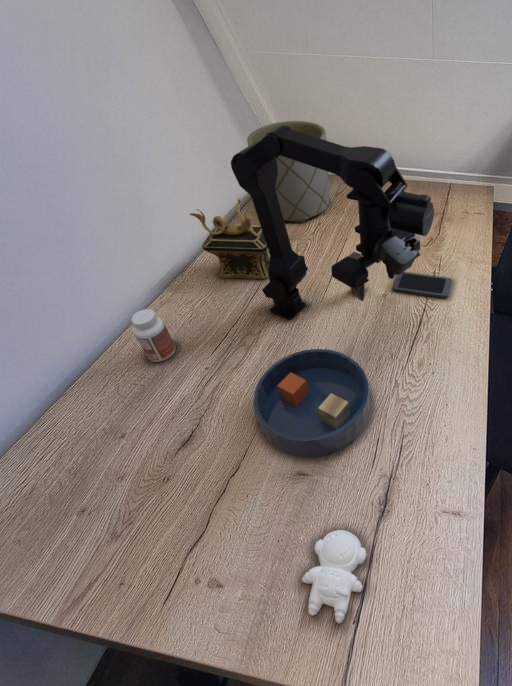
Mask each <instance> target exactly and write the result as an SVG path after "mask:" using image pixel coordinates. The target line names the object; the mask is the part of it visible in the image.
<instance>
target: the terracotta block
mask: <svg viewBox="0 0 512 686" xmlns="http://www.w3.org/2000/svg"><path fill="white" fill-rule="evenodd" d="M278 390H279V393H280V397H281V399H283V400H285V401H287V402H288V403H290V404H292V405H294V406H297V405H298V404H299V403H300V402H301V401H302V400H303V399H304V398H305V397H306V396H307V394H308V393H309V391H308V387H307V382H306V380H305V379H303V378H301V377H299V376H297V375H295V374H293V373H291V372H290V373H289V374H288V375H287V376H286V377H285V378H284V379H283V380H282V381H281V382H280V383H279V384H278Z"/></svg>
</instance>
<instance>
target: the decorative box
mask: <svg viewBox="0 0 512 686" xmlns="http://www.w3.org/2000/svg"><path fill="white" fill-rule="evenodd" d="M242 202H243V200H242V198H241V197H238V198H237V206H236V213H237V215H238V218H240V220H241V224H239V223H232V224H227V222H226V220H225V219H224V218H223V217H222V216H221V215H216V216H214V217H213V219H212V224H213V226H214V227H215V228H213V229H212V230H211V229H210V228H209V227H208V226H207V224H206V215H205V214H204V212H203V211H201V210H200V209H197V208H196V211H197V212H199V213H195V212H190V213H188V215H189V216H193V217H195V218H197V219H198V220H199V222H200V223H201V225H202V227H203V228H204V229H205V230H206V232H208V233H209V234H208V236H207V237H206V239H205V240H204V241H203V242H202V244H201V248H202V249H203V250H204V252H207V253H209V254H212V255H214V256H216V258H217V259H218V261H219V272H218V276H219V277H220V278H228V279H229V278H231V279H251V280H252V279H253V280H255V279H256V280H265V279H267V278H269V274H268V267H269V262H270V255H269V252H268V247H267V244H266V241H265V238H264V235H263V232H262V229H261V226H260V225H252V214H250V213H247V214H245V216H244V215H243V214H242V213H241V211H240V209H241V207H240V206H241V204H242Z"/></svg>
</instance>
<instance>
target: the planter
mask: <svg viewBox="0 0 512 686" xmlns="http://www.w3.org/2000/svg"><path fill="white" fill-rule="evenodd" d="M281 125H282V126H288V127H290V128H291V129H292V130H295V131H298V132H301V133H304V134H307V135H310V136H314V137H317V138H320V139H323V140H326V141H327V133H326V129H325V128H324V127H323V125H320V124H317V123H315V122H311V121H305V120H304V121H303V120H288V121H287V120H286V121H279V122H274V123H270V124H266V125H264V126H260V127H258V128H257V129H254V130H253V131H252V132H251V133H250V134H249V135H248V136H247V137H246V142H247V147H248V146H250V145H251V144H253V143H254V142H258V141H261V140H262V139H263V138H264V137H265V135H266V134H267V133H269V132H270V131H272V130H273V129H275V128H277V127H278V126H281ZM276 160H277V169H278V175H277V181H276V187H275V190H276V194H277V198H278V201H279V205H280V208H281V212H282V215H283V219H284V222H285V221H286V222H291V223H300V224H301V223H305V222H307V220H308V219H310V218H314V217H316V216H318V215H320V214H321V213H323V212H324V211H326V209H328V207H329V205H330V181H329V179H330V178H329V172H327V171H324V170H321V169H318V168H315V167H312V166H309V165H307V164H304V163H301V162H298V161H295V160H292V159H289V158H286V157H283V156H278V157H277V158H276Z"/></svg>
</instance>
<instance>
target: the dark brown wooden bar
mask: <svg viewBox="0 0 512 686" xmlns="http://www.w3.org/2000/svg"><path fill="white" fill-rule="evenodd" d="M348 257H350V258H352V259H354V260H355V261H356V260H358V259H359V258H361V257H363V256H362V255H361V253H360V252H356V251H352V252H351V253H350V254H349V255H348ZM350 292H351V293H352V294H354V295H356V294H355V293H354V291H353V290H352V288H351V287H350Z"/></svg>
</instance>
